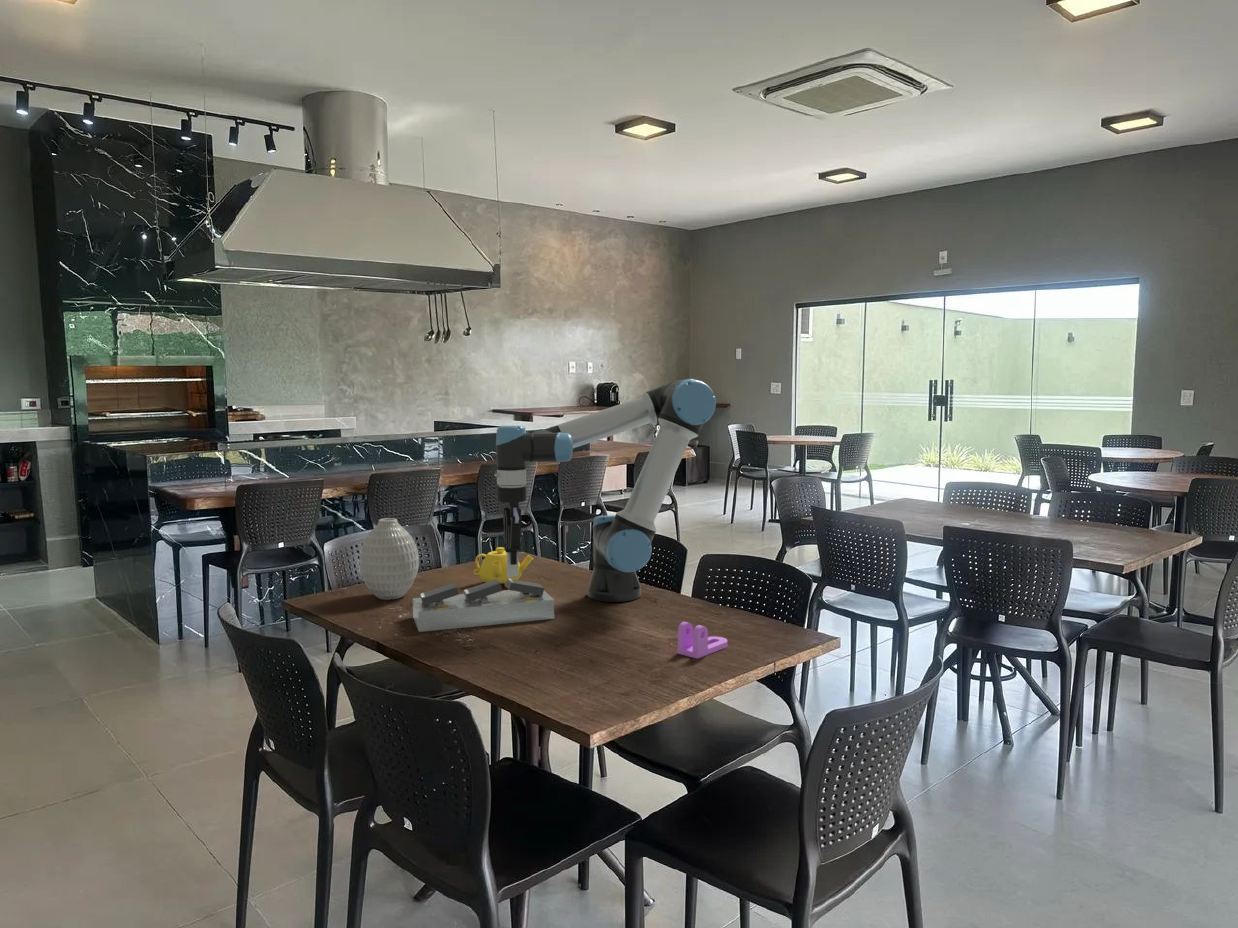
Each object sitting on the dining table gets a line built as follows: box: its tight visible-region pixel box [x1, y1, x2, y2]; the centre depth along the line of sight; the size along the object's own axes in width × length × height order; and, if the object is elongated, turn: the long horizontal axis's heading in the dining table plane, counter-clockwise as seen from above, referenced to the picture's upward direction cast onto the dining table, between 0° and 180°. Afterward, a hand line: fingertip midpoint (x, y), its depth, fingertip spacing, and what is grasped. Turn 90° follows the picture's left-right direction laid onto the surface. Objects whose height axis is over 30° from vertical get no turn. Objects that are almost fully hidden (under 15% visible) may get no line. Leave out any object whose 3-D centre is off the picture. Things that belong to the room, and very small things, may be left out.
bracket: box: [677, 621, 728, 660], centre depth 193 cm, size 13×6×7 cm, turn 137°
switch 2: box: [463, 579, 503, 602], centre depth 220 cm, size 9×5×2 cm, turn 109°
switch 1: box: [419, 582, 460, 606], centre depth 216 cm, size 9×5×2 cm, turn 109°
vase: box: [359, 517, 420, 601], centre depth 242 cm, size 16×16×22 cm
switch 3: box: [504, 578, 545, 596], centre depth 223 cm, size 9×5×2 cm, turn 109°
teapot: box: [473, 546, 534, 588], centre depth 256 cm, size 14×14×11 cm
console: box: [412, 589, 555, 633], centre depth 220 cm, size 34×14×6 cm, turn 109°
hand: (512, 575), depth 222 cm, fingers closed
